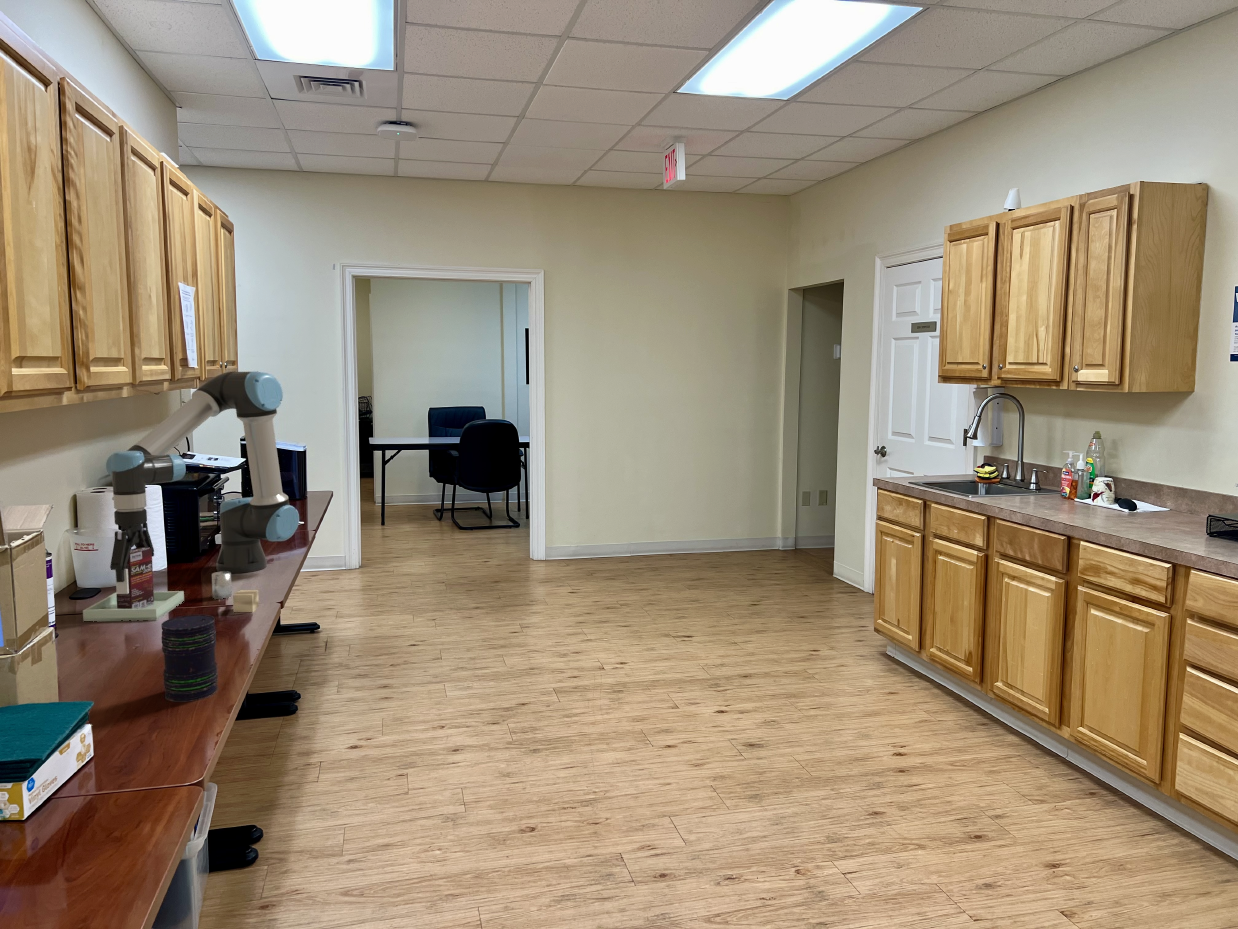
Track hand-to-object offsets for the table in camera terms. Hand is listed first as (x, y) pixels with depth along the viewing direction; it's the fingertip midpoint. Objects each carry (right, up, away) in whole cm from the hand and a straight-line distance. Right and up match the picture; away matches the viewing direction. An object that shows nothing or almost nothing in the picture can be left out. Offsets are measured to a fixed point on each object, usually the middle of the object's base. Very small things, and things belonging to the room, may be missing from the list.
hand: (134, 587), depth 229 cm
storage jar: (+43, -14, -55) cm, 72 cm away
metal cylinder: (+16, -5, +16) cm, 23 cm away
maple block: (+29, -7, +3) cm, 30 cm away
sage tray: (0, -7, +1) cm, 7 cm away
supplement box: (0, -6, +1) cm, 6 cm away
